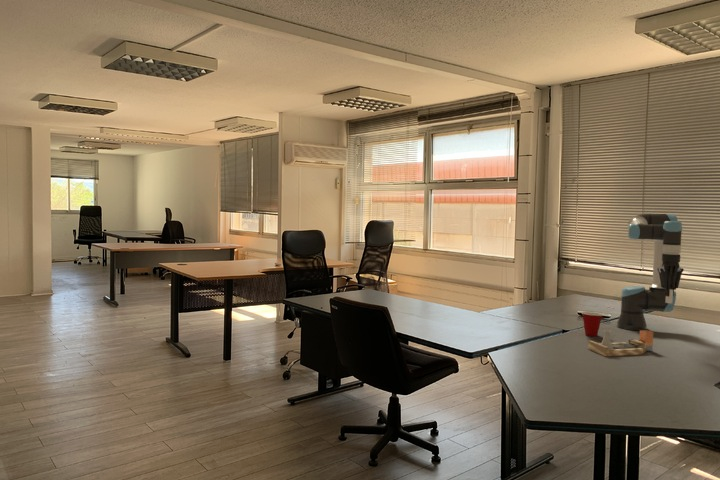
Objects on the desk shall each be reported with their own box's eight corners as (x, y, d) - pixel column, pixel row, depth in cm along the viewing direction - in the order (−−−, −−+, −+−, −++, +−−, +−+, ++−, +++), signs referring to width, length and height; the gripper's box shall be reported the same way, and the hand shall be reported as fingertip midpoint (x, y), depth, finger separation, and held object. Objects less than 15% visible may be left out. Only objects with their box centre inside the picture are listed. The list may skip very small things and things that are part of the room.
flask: (617, 354, 249) (618, 333, 249) (600, 354, 250) (601, 332, 250) (611, 350, 257) (612, 329, 256) (595, 350, 257) (596, 329, 257)
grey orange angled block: (646, 348, 261) (647, 330, 260) (652, 350, 257) (653, 332, 256) (609, 350, 256) (610, 331, 256) (615, 352, 252) (616, 333, 252)
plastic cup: (604, 334, 289) (605, 312, 289) (600, 338, 280) (601, 315, 280) (582, 331, 295) (583, 309, 295) (578, 335, 286) (579, 312, 286)
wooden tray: (630, 347, 264) (630, 337, 263) (649, 354, 251) (649, 344, 251) (588, 349, 259) (588, 339, 258) (605, 356, 246) (605, 346, 246)
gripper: (676, 253, 263) (674, 301, 264) (653, 253, 260) (651, 301, 262) (689, 254, 256) (686, 304, 257) (665, 254, 253) (663, 304, 254)
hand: (668, 302), depth 259 cm, fingers closed
